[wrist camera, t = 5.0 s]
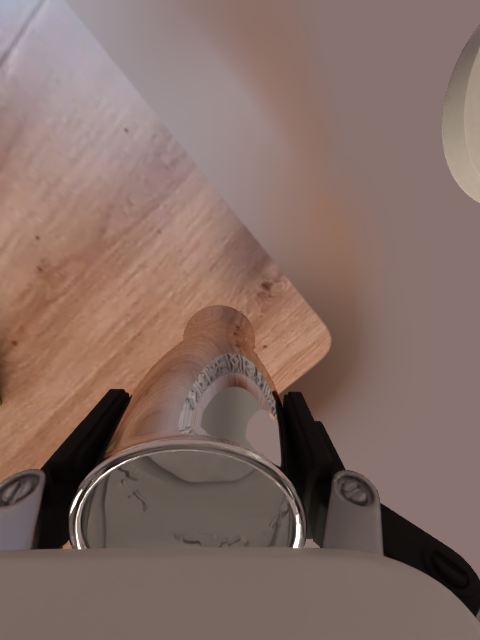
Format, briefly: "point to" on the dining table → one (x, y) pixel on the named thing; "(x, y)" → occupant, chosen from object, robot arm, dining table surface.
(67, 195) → the dining table surface
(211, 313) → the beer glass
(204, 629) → the robot arm
